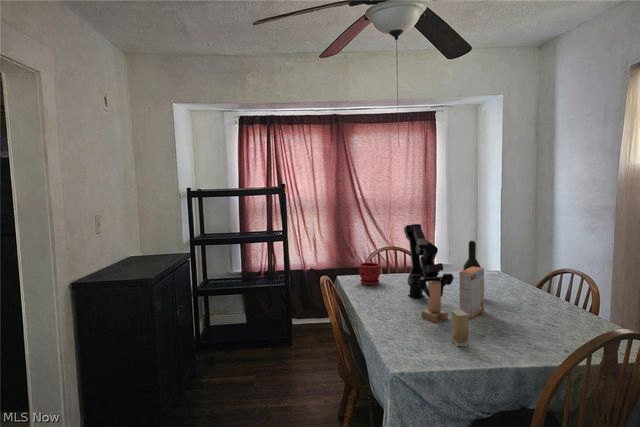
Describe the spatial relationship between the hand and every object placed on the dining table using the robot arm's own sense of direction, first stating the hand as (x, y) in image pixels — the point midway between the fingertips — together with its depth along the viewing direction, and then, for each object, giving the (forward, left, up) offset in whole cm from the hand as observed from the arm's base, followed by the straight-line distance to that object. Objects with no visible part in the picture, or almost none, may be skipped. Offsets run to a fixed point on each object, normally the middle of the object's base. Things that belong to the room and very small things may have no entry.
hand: (435, 296), depth 169 cm
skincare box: (+12, +23, -11) cm, 28 cm away
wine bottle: (-40, -11, -11) cm, 43 cm away
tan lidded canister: (-1, -1, -7) cm, 7 cm away
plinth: (-1, -1, -10) cm, 11 cm away
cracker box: (-19, +5, -11) cm, 22 cm away
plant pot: (-15, -65, -11) cm, 68 cm away
